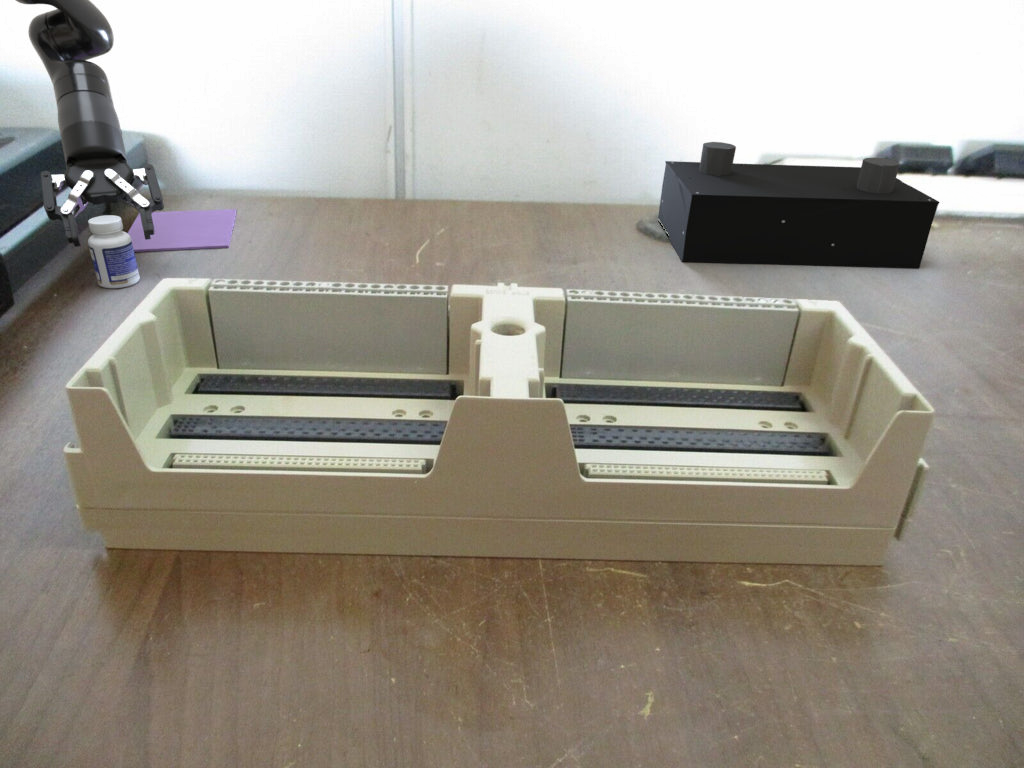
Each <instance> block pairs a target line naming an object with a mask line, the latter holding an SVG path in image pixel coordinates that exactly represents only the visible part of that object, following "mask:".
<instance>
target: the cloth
mask: <svg viewBox="0 0 1024 768" xmlns="http://www.w3.org/2000/svg"><path fill="white" fill-rule="evenodd" d="M236 210H237V211H238V209H237V208H227V209H225V208H224V209H204V210H203V209H200V210H198V209H197V210H175V211H174V210H173V211H171V210H170V211H154V212H153V213H152V220H153V225H154V230H155V232H154V235H150V238H151V239H147V240H145V236H144V231H143V226H142V222H141V217H140V212H138V215H137V216H136V218H135V220H134V221H133V223H132V225H131V226H130V228H129V230H128V232H126V233H127V234H129V235H130V237H131V240H132V245H133V249H134V253H143V252H165V251H168V252H169V251H186V250H187V251H188V250H208V249H209V250H210V249H229V247H230V243H231V239H232V234H233V231H232V230H234V226H235V222H236V217H237V213H236ZM235 216H236V217H235ZM234 221H235V222H234Z"/></svg>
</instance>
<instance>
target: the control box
mask: <svg viewBox="0 0 1024 768" xmlns="http://www.w3.org/2000/svg"><path fill="white" fill-rule="evenodd" d="M701 149H702V150H701V156H700V161H699V162H698V161H673V160H671V161H670V160H665V167H664V173H663V179H662V186H661V192H660V193H661V194H660V199H659V207H658V214H657V215H658V216H657V219H658V218H659V219H660V221H661V223H662V224H663V226H664V228H665V229H666V231H667V232H668V234H669V238H670V239H669V238H668V239H669V241H670V244H671V246H672V248H673V249H674V251H675V253H676V254H677V256H678V258H679V259H680V261H681V263H708V264H709V263H713V264H746V265H747V264H749V265H751V264H753V265H757V264H758V265H787V266H788V265H789V266H819V267H849V268H850V267H851V268H885V269H887V268H889V269H920V268H921V263H922V261H923V258H924V257H923V256H924V254H925V250H926V246H927V243H928V241H929V237H930V233H931V229H932V225H933V222H934V219H935V216H936V213H937V210H938V206H939V204H940V201H939V200H937V199H935V198H933V197H932V196H930V195H928V194H926V193H925V192H922V191H921V190H919V189H916V188H915V187H913V186H912V185H909V184H907V183H906V182H903V181H902V180H901V179H899V178H897V175H898V172H899V168H900V164H901V163H900V162H899V161H897V160H894V159H890V158H883V157H865V158H863V159H862V162H861V166H834V165H833V166H830V165H801V164H800V165H798V164H797V165H795V164H764V163H762V164H761V163H736V162H735V163H734V160H735V155H736V150H737V147H736V145H734V144H733V143H727V142H721V141H708V142H704V143H703V144H702V148H701Z"/></svg>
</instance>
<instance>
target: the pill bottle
mask: <svg viewBox="0 0 1024 768" xmlns="http://www.w3.org/2000/svg"><path fill="white" fill-rule="evenodd" d="M87 223H88V228H89V230H90V233H92V235H90V236H89V238H88V239H87V245H88V248H89V254H90V257H91V260H92V266H93V268H94V269H93V270H94V273H95V277H96V281H97V284H98V285H99V286H100V287H101V288H104V289H122V288H127V287H131V286H133V285H135V284H138V282H140V279H141V277H140V272H139V268H138V263H137V259H136V254H135V252H134V249H133V245H132V240H131V237H130V235H129V234H127V233H128V232H126V231H123V229H124V225H123V219H122V217H121V216H118V215H114V214H113V215H111V214H110V215H109V214H106V215H99V216H95V217H92V218H89V220H88V221H87Z"/></svg>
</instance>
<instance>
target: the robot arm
mask: <svg viewBox="0 0 1024 768" xmlns="http://www.w3.org/2000/svg"><path fill="white" fill-rule="evenodd" d="M15 1H16V2H17V3H19V4H21V5H22V4H23V5H49V6H51V7H54V8H55V9H53V10H50V11H47V12H44V13H40V14H37V15H36V16H34V17H33V18H32V19H31V21H30V23H29V26H28V32H27V33H28V39H29V41H30V43H31V45H32V47H33V49H34V50H35V52H36V54H37V55H38V58H39V59H40V61H41V63H42V65H43V66H44V69H45V71H46V73H47V74H48V76H49V79H50V81H51V84H52V86H53V87H52V88H53V91H54V98H55V103H56V108H57V124H58V129H59V136H60V141H61V144H62V145H61V146H62V150H63V154H64V155H63V156H64V161H65V166H66V170H65V172H64V174H52V173H51V172H50V171H49V170H43V171H41V173H40V182H41V183H40V184H41V192H42V193H41V194H42V201H43V208H44V211H45V213H46V216H47V218H48V219H49V220H50V221H56V220H59V221H62V224H63V230H64V234H65V235H64V236H65V237H66V240H67V242H68V243H69V244H73V246H74V247H75V248H76V247H82V245H81V240H80V234H79V229H78V224H77V221H76V219H77V217H78V215H79V214H80V213H82V212H83V211H84V210H85V209H86V208H87V206H88V204H92V205H102V204H105V203H108V204H118V203H119V202H120V201H121V200H122V201H123V202H124V203H126V204H127V205H128V206H129V207H131V208H134V209H135V210H136V211H137V212H138V213H140V217H141V222H142V226H143V231H144V236H145V240H147V239H151V238H150V235H154V232H155V230H154V225H153V220H152V213H153V212H157V211H158V212H162V211H163V210H164V208H165V205H164V197H163V193H162V190H161V187H160V184H159V181H158V178H157V174H156V171H155V168H154V165H153V164H152V163H146V164H145V165H143V167H141V168H134V169H133V168H132V167H131V166H130V165H129V162H128V161H129V160H128V157H127V152H126V147H125V142H124V138H123V131H122V129H121V123H120V120H119V117H118V114H117V111H116V109H115V105H114V104H115V103H114V100H113V95H112V91H111V86H110V81H109V79H108V76H107V73H106V72H105V70H104V69H103V68H102V67H101V66H99V65H98V64H96V63H94V62H92V61H88V60H91V59H95V58H98V57H100V56H101V57H102V56H103V55H106V54H108V53H109V52H111V50H112V49H113V47H114V43H115V42H114V41H115V38H114V32H113V28H112V25H111V24H110V22H109V21H108V19H107V17H106V16H105V15H104V13H103V12H102V11H101V10H100V9H99V8H98V7H97V6H96V5H95V4H94V3H93V2H92V1H91V0H15ZM135 180H139V181H140V182H141V185H144V186H148V190H149V193H150V196H151V197H150V198H148V199H147V198H145V197H144V196H143V195H142V194H140V193H139V192H138V191H137V189H136V188H135V187H134V186H133V184H134V182H135ZM64 185H66V186H67V187H68V188H70V189H71V191H70V192H69V193H68V195H67V199H66V200H65V202H64V203H63V205H62V206H59V205H58V202H57V193H60V191H61V190H62V187H63V186H64Z"/></svg>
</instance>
